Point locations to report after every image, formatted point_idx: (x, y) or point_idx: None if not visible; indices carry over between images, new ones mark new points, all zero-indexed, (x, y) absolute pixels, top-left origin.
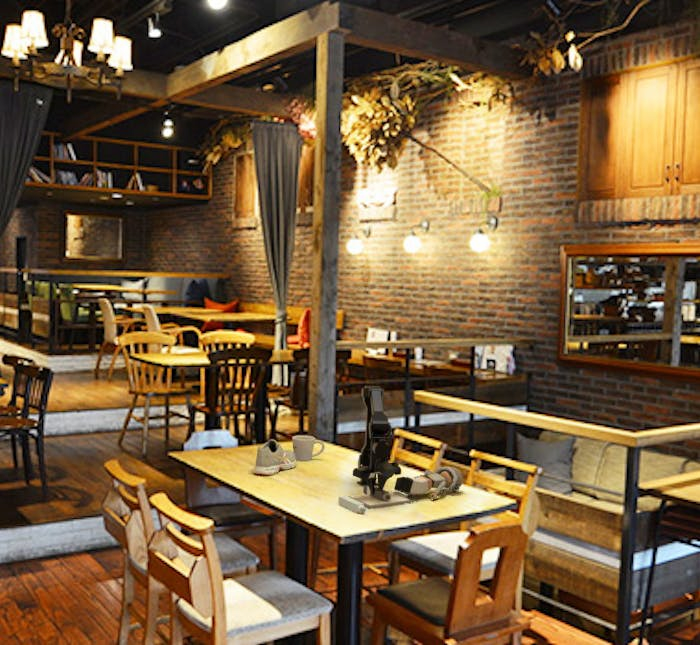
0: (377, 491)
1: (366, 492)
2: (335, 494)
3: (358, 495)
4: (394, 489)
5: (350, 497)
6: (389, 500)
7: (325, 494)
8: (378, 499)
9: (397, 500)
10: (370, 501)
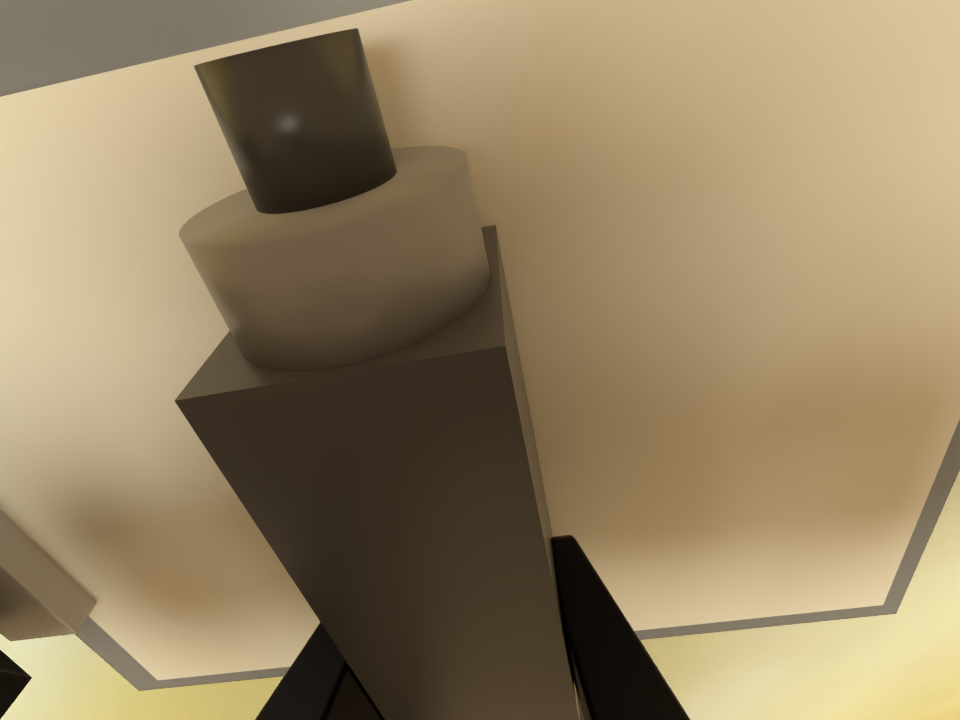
0: (546, 539)
1: None
2: (846, 703)
3: (724, 610)
4: (24, 673)
5: (888, 574)
6: None
7: (948, 715)
8: None
9: (14, 175)
10: (810, 250)
